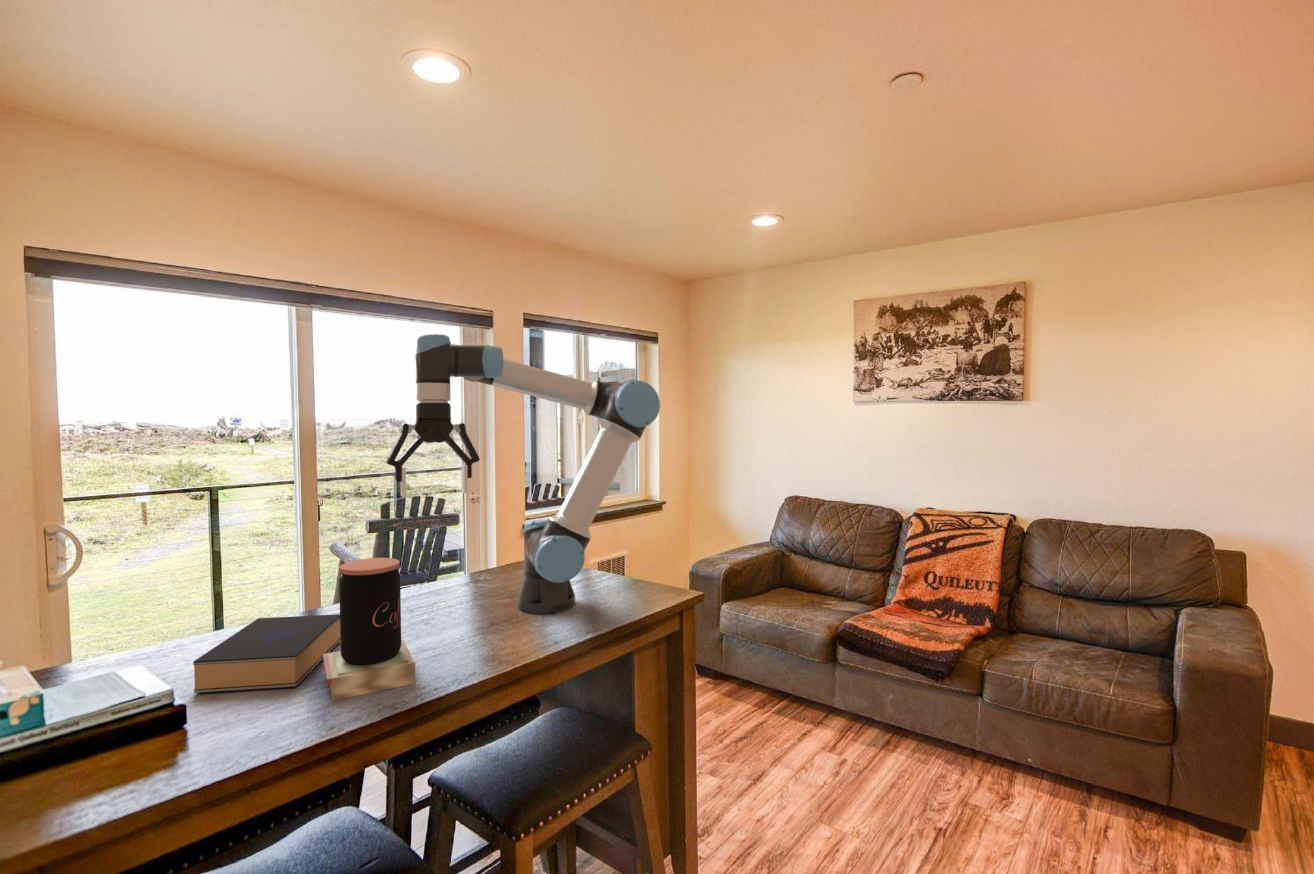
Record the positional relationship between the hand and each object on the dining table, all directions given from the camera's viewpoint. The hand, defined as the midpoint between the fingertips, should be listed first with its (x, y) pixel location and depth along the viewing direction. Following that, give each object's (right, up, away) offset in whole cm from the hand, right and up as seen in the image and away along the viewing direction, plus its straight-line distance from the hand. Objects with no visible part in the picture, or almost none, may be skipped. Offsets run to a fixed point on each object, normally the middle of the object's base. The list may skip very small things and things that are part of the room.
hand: (434, 494), depth 144 cm
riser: (-4, -33, -23) cm, 41 cm away
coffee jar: (-4, -29, -23) cm, 38 cm away
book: (-26, -34, -17) cm, 46 cm away
